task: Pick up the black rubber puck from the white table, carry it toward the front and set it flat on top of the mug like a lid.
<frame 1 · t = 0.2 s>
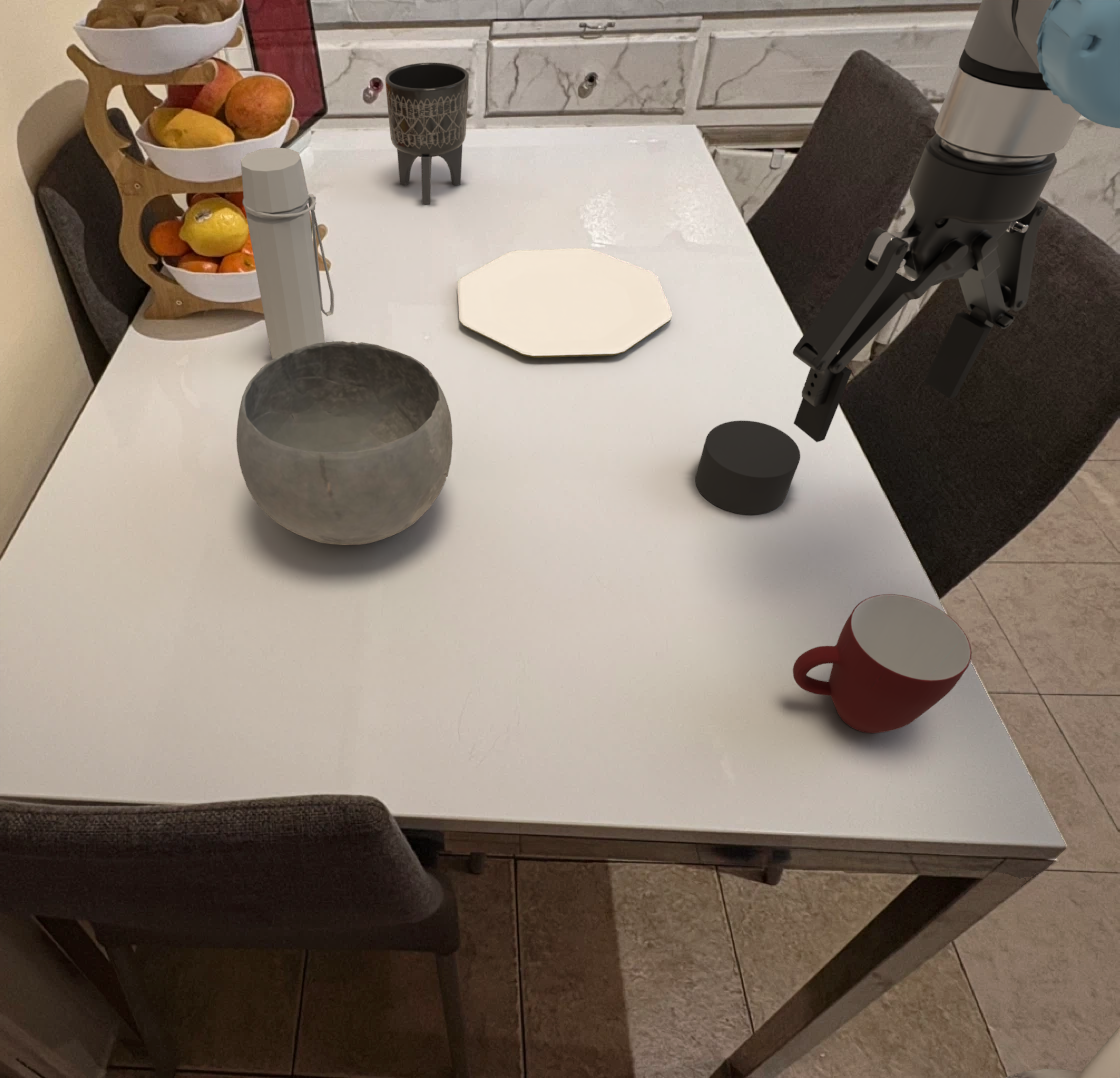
hand: (875, 410, 69), 16 cm above the table, tool pointing down, fingers open, 13 cm apart
mug: (845, 713, 68), on the table
planter: (429, 191, 142), on the table
water bottle: (306, 357, 108), on the table
bowl: (353, 511, 87), on the table
plate: (560, 308, 114), on the table
puck: (740, 485, 87), on the table
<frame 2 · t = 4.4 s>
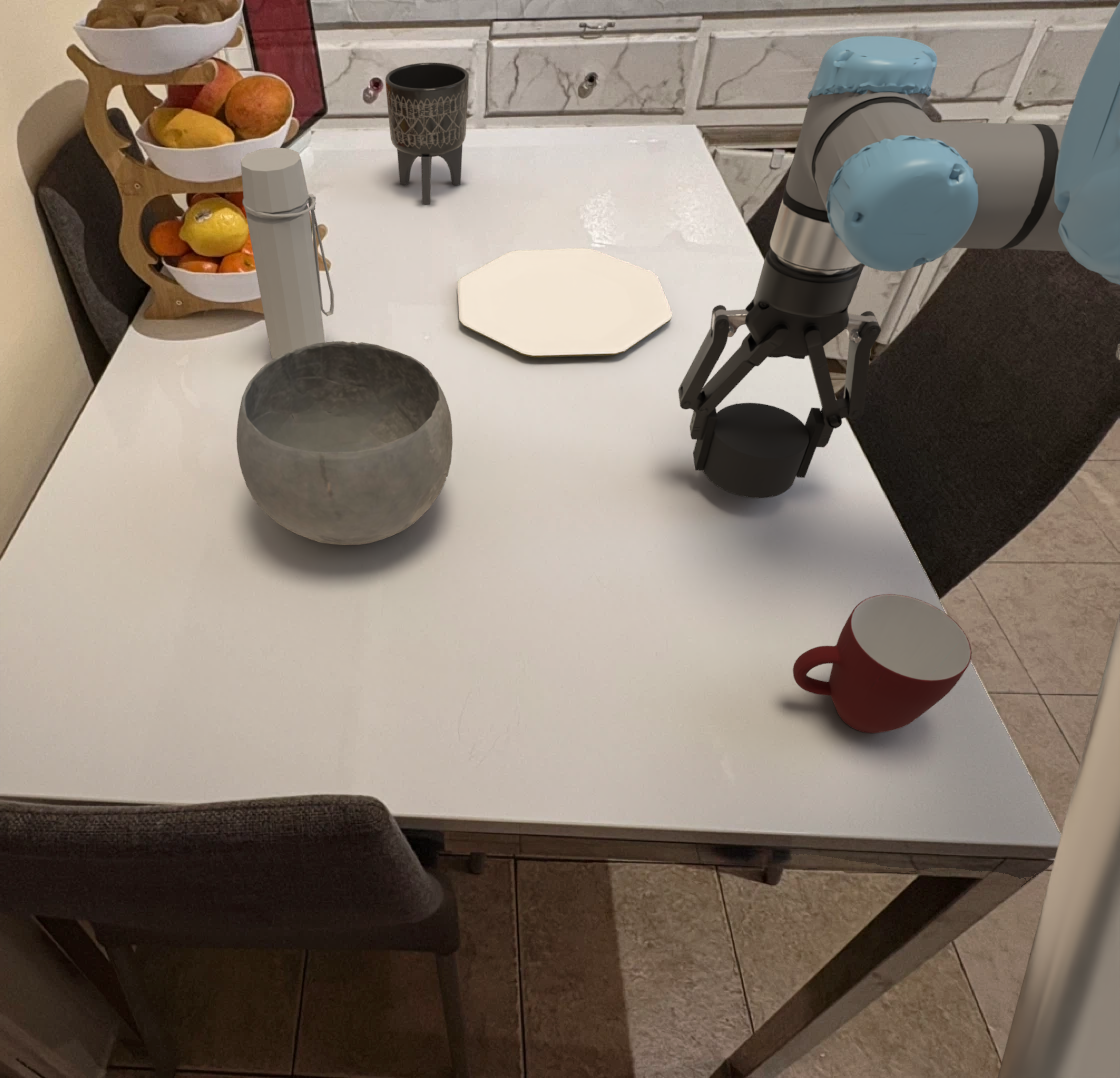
hand: (747, 465, 85), 3 cm above the table, tool pointing down, fingers closed on puck, 9 cm apart
puck: (747, 469, 85), point 3 cm above the table, touching gripper
everything else where it was.
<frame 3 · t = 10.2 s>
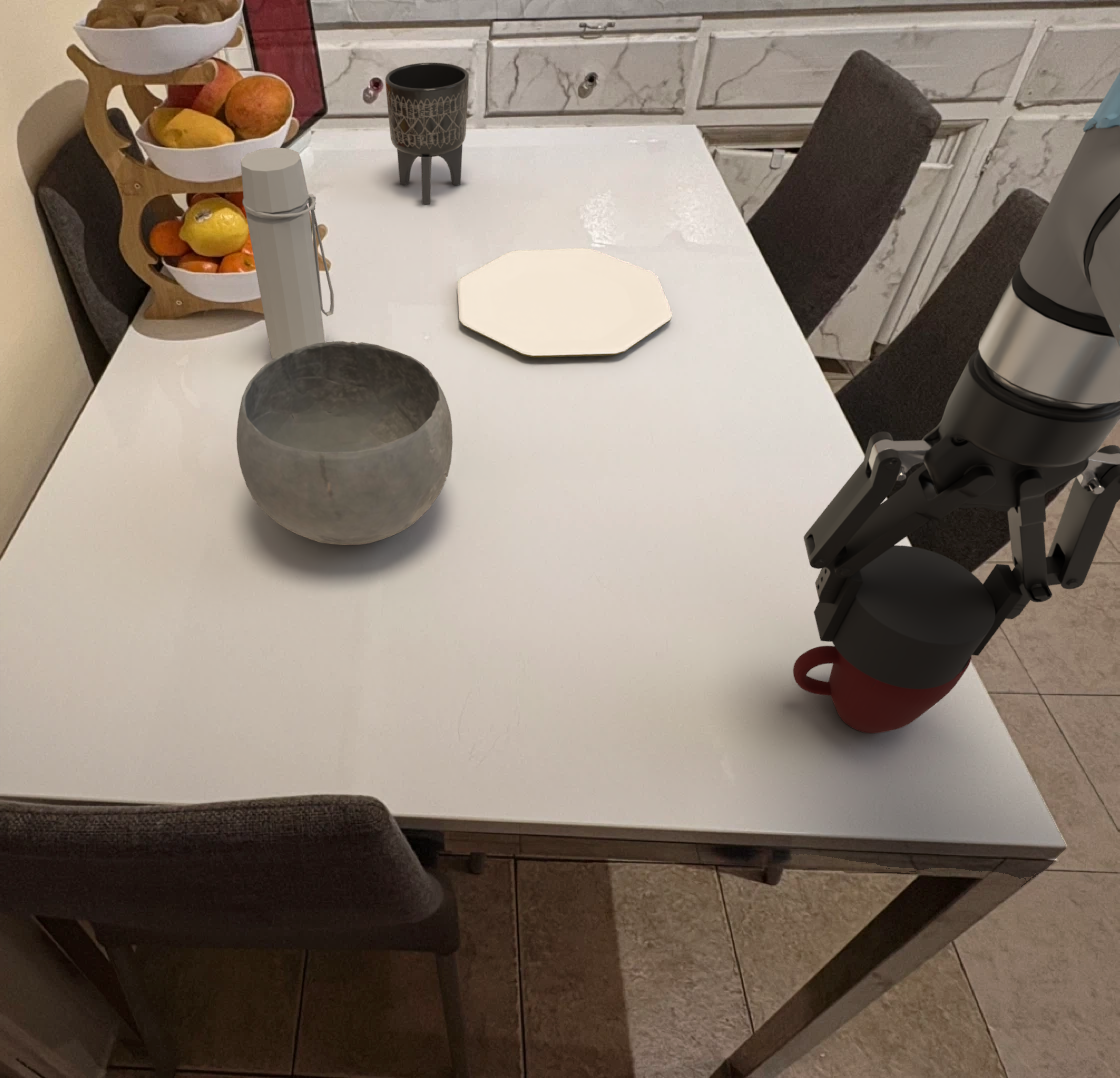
hand: (893, 633, 61), 10 cm above the table, tool pointing down, fingers closed on puck, 9 cm apart
mug: (845, 713, 68), on the table, touching gripper, puck
puck: (893, 637, 61), point 10 cm above the table, touching gripper, mug
everything else where it was.
when the fingers open (10 cm above the table, at t = 12.5 s): puck stays where it is, resting on mug.
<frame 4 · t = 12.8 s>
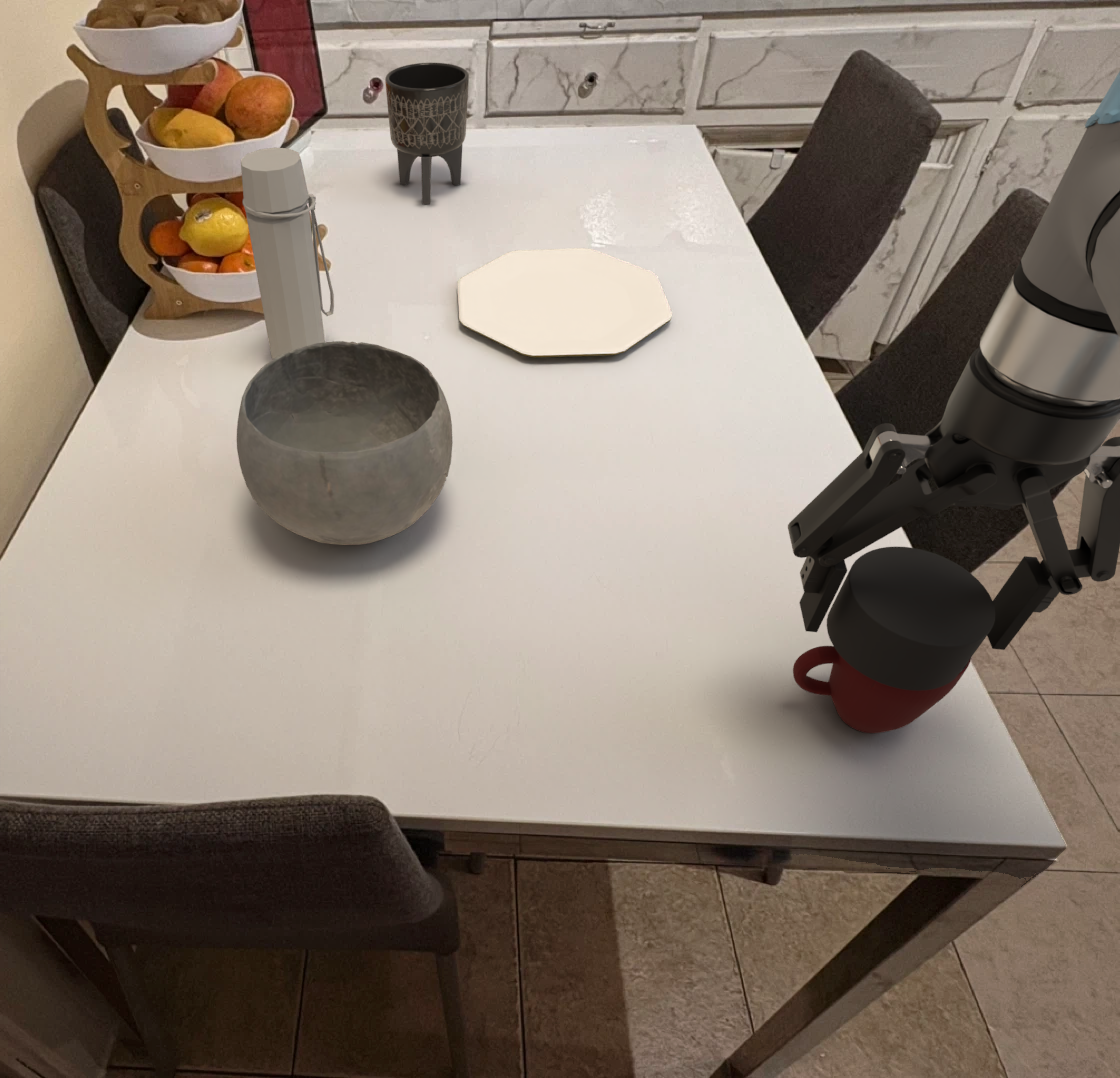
hand: (898, 625, 60), 11 cm above the table, tool pointing down, fingers open, 12 cm apart
mug: (845, 713, 68), on the table, touching puck
puck: (893, 638, 61), point 10 cm above the table, touching mug
everything else where it was.
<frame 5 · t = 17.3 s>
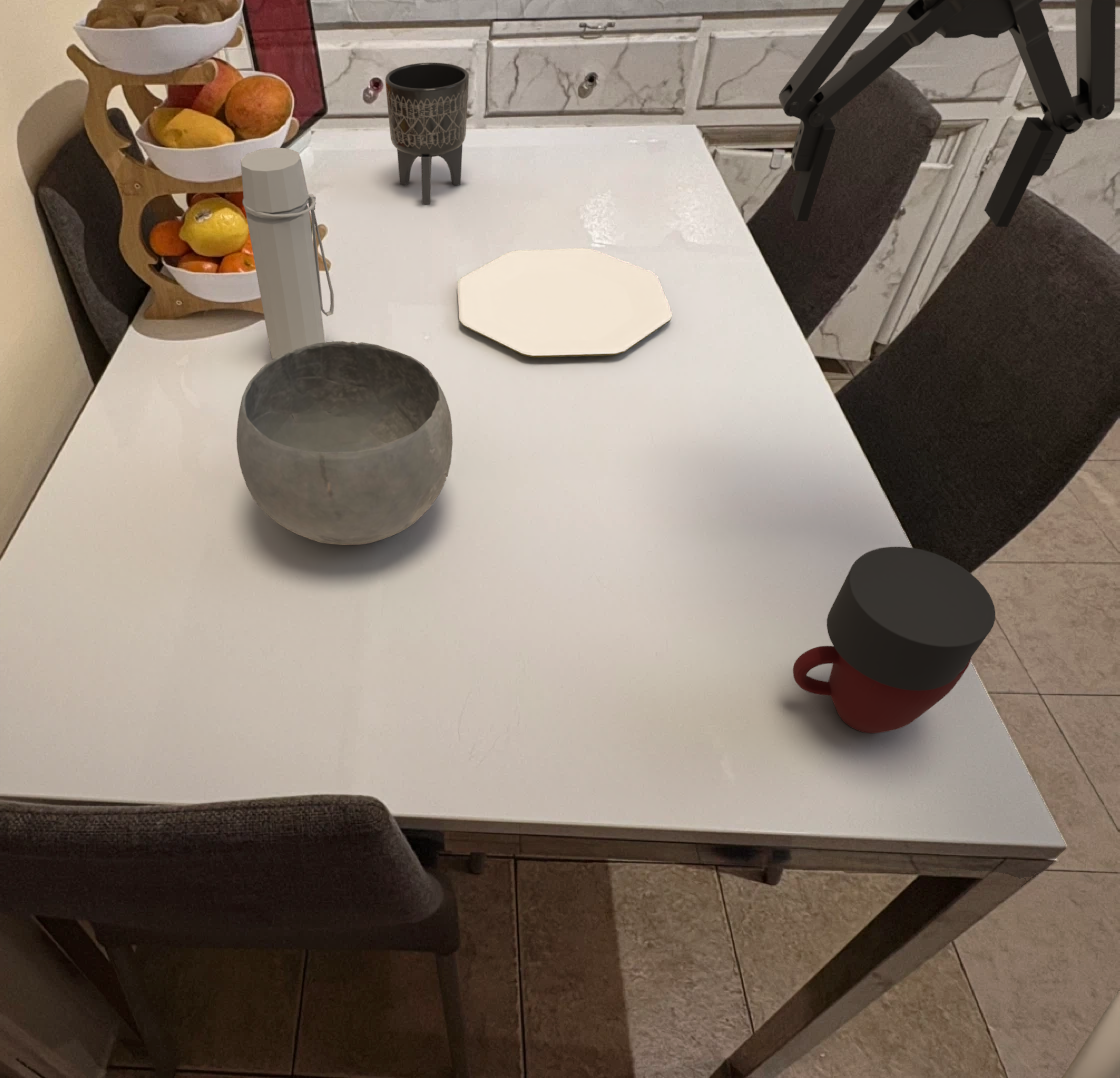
hand: (895, 216, 62), 31 cm above the table, tool pointing down, fingers open, 13 cm apart
nothing on the table moved.
at the end: puck 0.3 cm off-centre on the mug, point 10.2 cm above the mug's base; puck tilted 0°; mug tilted 0° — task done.
